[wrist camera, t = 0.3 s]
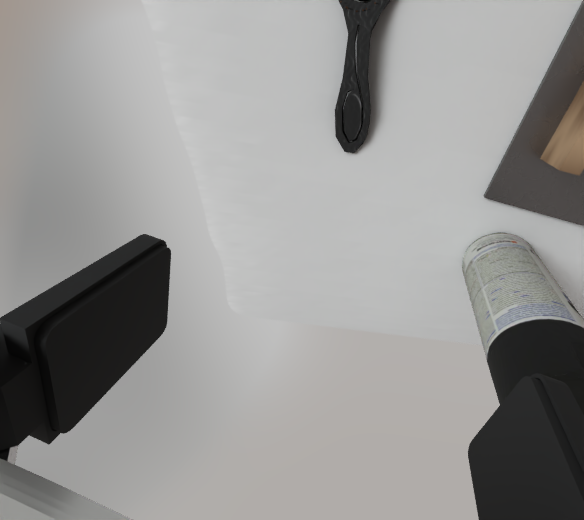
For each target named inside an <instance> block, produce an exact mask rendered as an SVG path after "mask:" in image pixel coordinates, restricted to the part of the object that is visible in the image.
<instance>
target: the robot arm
mask: <svg viewBox="0 0 584 520" xmlns="http://www.w3.org/2000/svg"><path fill="white" fill-rule="evenodd" d="M170 261H171V250H170V249H169V248H167V245H166V242H165V241H164V240H161V239H158V238H155V237H152V236H149V235H146V234H143V235H140V236H138V237H137V238H136V239H133V240H132V241H130V242H129V243H127V244H125V245H123V246H122V247H120V248H118V249H116V250H115V251H113V252H111V253H110V254H108V255H106V256H104V257H103V258H101V259H99V260H98V261H96V262H94V263H93V264H91V265H89V266H88V267H86V268H84V269H82V270H81V271H79V272H77V273H76V274H74V275H72V276H70V277H69V278H67V279H65V280H64V281H62V282H60V283H59V284H57V285H55V286H53V287H52V288H50V289H48V290H47V291H45V292H43V293H42V294H40V295H38V296H37V297H35V298H33V299H31V300H30V301H28V302H26V303H24V304H23V305H21V306H19V307H18V308H16V309H14V310H13V311H11V312H9V313H8V314H6V315H4V316H2V317H1V318H0V323H1V324H0V520H132V519H130V518H128V517H126V516H124V515H122V514H120V513H118V512H115V511H113V510H111V509H109V508H107V507H105V506H103V505H100V504H98V503H96V502H94V501H92V500H90V499H88V498H86V497H84V496H81V495H79V494H77V493H75V492H73V491H71V490H69V489H67V488H64V487H62V486H60V485H58V484H56V483H54V482H52V481H50V480H47V479H45V478H43V477H41V476H39V475H36V474H34V473H32V472H30V471H27V470H25V469H23V468H21V467H18V466H16V465H15V460H16V455H17V449H18V445H19V444H20V443H21V442H22V441H23V440H24V439H25V438H26V437H27V436H29V435H30V436H32V437H34V438H37V439H39V440H41V441H43V442H45V443H47V444H50V443H51V442H52V441H53V440H54V439H55V438H56V437H57V436H58V435H59V434H60V433H67V432H68V431H70V430H71V429H72V428H73V427H74V426H75V425H76V424H77V423H78V422H79V421H80V420H81V419H82V418H83V417H84V416H85V415H86V414H87V413H88V411H90V409H91V408H92V407H93V406H94V405H95V404H96V403H97V402H98V401H99V400H100V399H101V398H102V397H103V396H104V395H105V394H106V393H107V392H108V390H110V389H111V387H112V386H113V385H114V384H115V383H116V382H117V381H118V380H119V379H120V378H121V377H122V376H123V375H124V374H125V373H126V372H127V371H128V370H129V369H130V368H131V366H132V365H133V364H134V363H135V362H136V361H137V360H138V359H139V358H140V357H141V356H142V355H143V354H144V353H145V352H146V351H147V350H148V349H149V348H150V347H151V345H152V344H153V343H154V342H155V341H156V340H157V339H158V338H159V337H160V336H161V335H162V334H163V332H164V330H165V328H166V325H167V313H168V296H169V279H170ZM468 458H469V463H470V470H471V476H472V481H473V488H474V493H475V499H476V505H477V511H478V517H479V520H584V414H583V412H582V411H581V409H580V407H579V405H578V403H577V401H576V399H575V397H574V396H573V394H572V392H571V390H570V388H569V387H568V385H567V384H566V383H564V382H562V381H559V380H556V379H553V378H550V377H548V376H545V375H542V374H538V373H535V374H533V375H532V376H530V377H529V376H525V377H523V378H522V379H521V380H520V381H519V382H518V384H517V385H516V386H515V387H514V389H513V390H512V391H511V392H510V394H509V395H508V396H507V397H506V399H505V400H504V401H503V402H502V404H501V405H500V406H499V407H498V409H497V410H496V411H495V412H494V414H493V415H492V416H491V417H490V419H489V420H488V421H487V422H486V424H485V425H484V426H483V428H482V429H481V430H480V431H479V432H478V434H477V435H476V436H475V437H474V439H473V440H472V441H471V443H470V446H469V450H468Z"/></svg>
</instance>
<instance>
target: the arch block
mask: <svg viewBox="0 0 584 520" xmlns="http://www.w3.org/2000/svg"><path fill="white" fill-rule="evenodd" d="M540 159H541V160H543V161H545V162H546V163H548V164H550V165H551V166H553V167H554V168H556V169H558V170H560V171H564V172H568V173H571V174H575V175H580V174H581V172H582V171H583V169H584V81H583V83H582V85H581V87H580V88H579V90H578V92H577V94H576V96H575V97H574V99H573V101H572V103H571V104H570V106H569V108H568V110H567V112H566V113H565V115H564V117H563V119H562V120H561V122H560V124H559V126H558V128H557V129H556V131H555V133H554V135H553V136H552V138H551V140H550V142H549V144H548V145H547V147H546V149H545V151H544V152H543V154H542V156H541V158H540Z"/></svg>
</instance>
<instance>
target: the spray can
mask: <svg viewBox="0 0 584 520" xmlns="http://www.w3.org/2000/svg"><path fill="white" fill-rule="evenodd" d="M462 270H463V274H464V278H465V282H466V285H467V289H468V293H469V296H470V300H471V303H472V308H473V311H474V315H475V318H476V322H477V326H478V329H479V333H480V337H481V341H482V344H483V347H484V351H485V355H486V359H487V362H488V365H489V369H490V373H491V376H492V380H493V383H494V386H495V389H496V393H497V396H498V400H499V403H500V405H501V404H502V402H503V401H504V400H505V399H506V397H507V396H508V395H509V394H510V392H511V391H512V390H513V389H514V387H515V386H516V385H517V384H518V382H519V381H520V380H521V379H522V378H523V377H525V376H529V377H530V376H532V375H533V374H535V373H538V374H542V375H545V376H548V377H550V378H553V379H556V380H559V381H562V382H564V383H566V384H567V385H568V387H569V388H570V390H571V392H572V394H573V396H574V397H575V399H576V401H577V403H578V405H579V407H580V409H581V411H582V412H583V414H584V319H583V318H582V316H581V315H580V314H579V313H578V311H577V310H576V309H575V307H574V306H573V304H572V303H571V301H570V300H569V299H568V297H567V296H566V295H565V293H564V292H563V290H562V289H561V288H560V286H559V285H558V284H557V282H556V281H555V279H554V278H553V277H552V275H551V274H550V272H549V271H548V270H547V268H546V267H545V265H544V264H543V262H542V261H541V260H540V258H539V257H538V255H537V254H536V253H535V251H534V250H533V248H532V247H531V246H530V245H529V244H528V243H527V242H526V241H525V240H523V239H521V238H520V237H518V236H515V235H512V234H507V233H493V234H490V235H486V236H483V237H481V238H479V239H478V240H476V241H475V242H473V243H472V244H471V245H470V246H469V248H468V249H467V251H466V253H465V255H464V258H463V261H462Z"/></svg>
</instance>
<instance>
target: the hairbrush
mask: <svg viewBox="0 0 584 520" xmlns="http://www.w3.org/2000/svg"><path fill="white" fill-rule="evenodd" d="M359 1H368V0H359ZM339 2H340V4H341V6H342V8H343V11H344V16H345V20H346V25H347V29H348V42H347V50H346V57H345V65H344V73H343V79H342V83H341V88H340V92H339V96H338V100H337V104H336V108H335V127H336V138H337V139H338V141H339V143H340V145H341V146H342V148H343V150H344V151H345V152H352V153H354V152H355V151H356V150H357V149H358V148H359V147H360V145H361V144H363V142H364V140H365V139H366V136H367V132H368V127H369V122H370V94H369V83H368V63H369V47H370V37H371V32H372V30H373V28H374V26H375V24H376V22H377V20H378V18H379V16H380V14H381V12H382V11H383V9H384V8H385V7H386V5H387V4H388V3H389V2H390V0H371V1H369V2H367V3H366V4H364V3H361V2H357V1H355V0H339ZM359 25H360V28H359V33H358V38H357V71H358V77H359V82H360V87H361V92H362V97H363V107H362V102H361V96H360V89H359V84H358V79H357V74H356V62H355V42H356V36H357V30H358V26H359ZM351 90H352V91H351ZM350 91H351V92H350ZM348 92H350V93H349V94H348V97H347V99H346V96H347V93H348ZM345 99H346V102H345ZM344 102H345V106H344ZM343 106H344V130H343ZM362 112H363V114H362ZM362 118H363V126H362V129H361V123H362ZM360 129H361V131H360ZM359 131H360V134H359V136H358V138H357V139H356V137H357V135H358V133H359ZM344 135H345V136H344ZM347 137H348V139H349V140H348V139H347ZM354 139H356V140H354ZM351 140H354V141H352V142H350V141H351Z"/></svg>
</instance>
